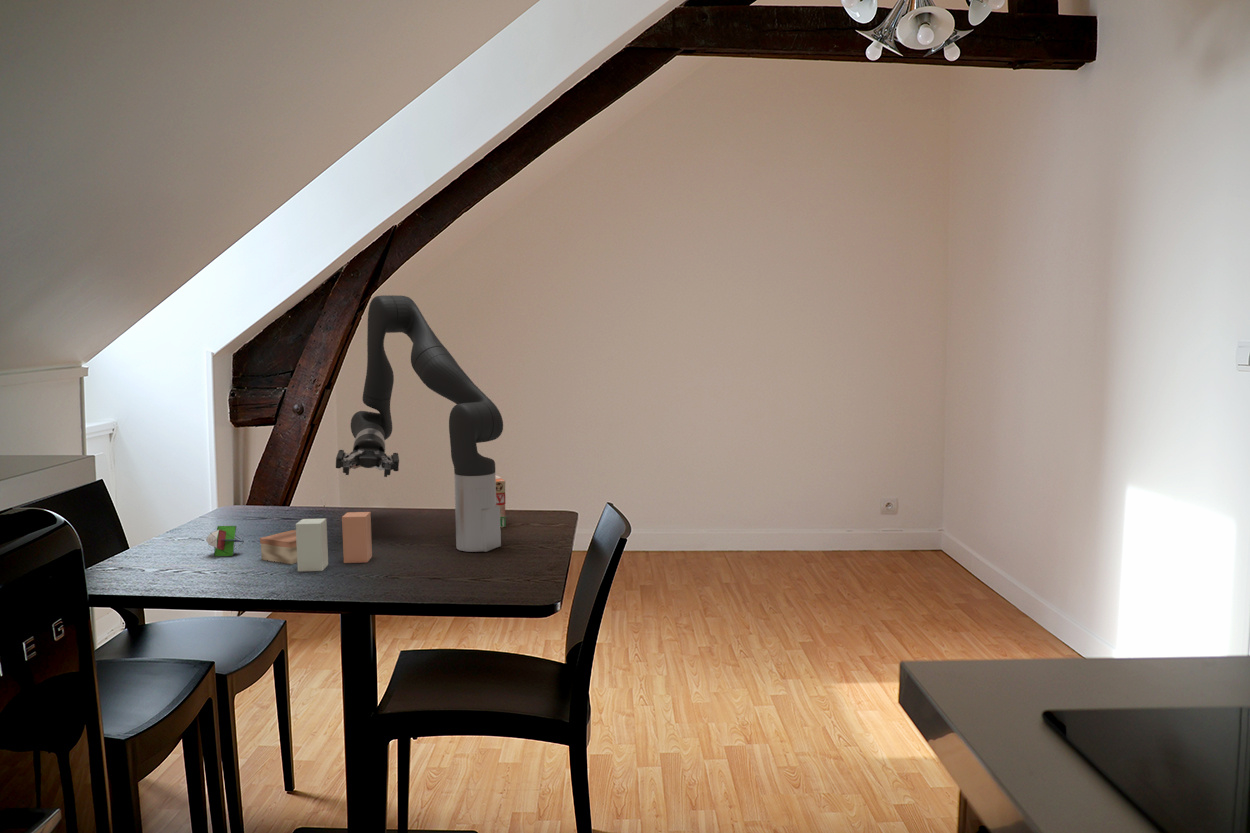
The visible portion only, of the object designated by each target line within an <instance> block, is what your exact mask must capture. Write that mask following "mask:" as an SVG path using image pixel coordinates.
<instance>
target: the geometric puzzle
mask: <svg viewBox="0 0 1250 833" xmlns="http://www.w3.org/2000/svg"><path fill="white" fill-rule="evenodd" d="M215 529H216V530H215V531H213V532H210V534H208V536H207V537H206V538H205V541H206V543H207V544H208V546H209V548H210V549H211V547H210V546H212V547H213V550H214V552H212V550H210V551H211V552H212V553H213V557H233V556H234V554H236V552H234V551H235V550H237V547H236V548H235V546H236V544H235V543H242V544H243V543H245V541H244V540H242V539H241V538H240V537H238V536H237V534H236V531H237V525H217V527H216V528H215ZM237 538H238V539H239V540H238V539H237ZM238 547H239V548H238V549H240V547H241V544H239V545H238Z"/></svg>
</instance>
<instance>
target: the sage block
mask: <svg viewBox="0 0 1250 833" xmlns="http://www.w3.org/2000/svg"><path fill="white" fill-rule="evenodd" d="M327 522H328V521H327V518H302V519H301V520H299V521H298V522H296V523H295V530H296V543H297V563H296V564H297V572H323V571H324V570H325V569H326V568H327V567H328V566H329V552H328V525H327Z"/></svg>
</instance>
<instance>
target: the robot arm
mask: <svg viewBox="0 0 1250 833" xmlns="http://www.w3.org/2000/svg"><path fill="white" fill-rule="evenodd" d="M367 311H368V312H367V336H366V337H367V339H366V341H367V342H366V345H367V347H366V348H367V355H366V356H367V363H366V374H365V381H364V386H363V392H362V402H363V404H364V405H365V406H367V407H368V408H370V409H373V410H375V411H377V412H374V411H366V410H360V411H356V412H355V413H354V414H353V415H352V417H351V420H350V430H351V433H352V436H353V437H354V441H353V448H352V451H351V452H350V453H346V452H345V449H339V450H338V451H337V454H336V458H335V468H336V469H341V468H342V473H343V474H345V476H349V475H350V470H351V469H353V470H356V469H358V468H365V469H373V468H375V469H377V470H379V471H384V472H383V477H384V478H387V477H388V476H391V471H392V470H393V471H394V472H399V466H400V457H399V453H398V452H393V453H392V454H390V455H387V453H386V440H388V439H389V438H390V437H391V435H392V432H393V421H392V415H391V400H392V399H391V398H392V393H393V387H394V379H395V378H394V371H393V367H392V366H391V363H390V361H389V358H388V356H387V354H386V351H385V337H386V335H387V334H388V333H389V334H392V333H394V334H395V333H402V334H405V335H406V336H407V337H408V338H409V339H410V341H411V342H412V347H411V352H410V365H411V367H412V369H413V371H414V372H415V373H416V375H417V377H418V378H419V379H420V380H421V381H422V383H423V384H424V385H425V386H426V387H427V388H428V389H430V390H431V391H432V392H434V393H435V394H437V395H439V396H441V397H443V398H445V399H447V400H449V401H451V402H452V403H454V404H455V405H454V406H453V407H452V408H451V411H450V413H449V418H448V432H449V441H450V442H449V443H450V456H451V457H450V458H451V462H452V465H453V468H454V470H453V472H454V506H455V507H454V509H455V512H454V514H455V539H456V540H455V544H456V549H457V550H458V551H463V552H470V553H471V552H472V553H473V552H475V553H477V552H478V553H479V552H485V553H486V552H489V551H492V550H494V549H496V548H497V549H498V548H499V547H502V542H501V541H502V540H501V539H502V537H501V536H502V535H501V529H502V528H500V506H499V505H496V474H497V473H496V462H495V460H494V459H492V458H490V457H486V456H483V455H482V454H480V453H479V451H478V446H477V444H480V443H487V442H491V441H494V440H497V439H498V438H499V437H500V436H501V435H502V434H503V431H504V420H503V417H502V413H501V411H500V410H499V408H498V407H497V405H496V404H495V403H494V402H493V401H492V399H490V398H489V397H488V396H487V395H486V394H485V393H484V392H483V391H482V390H481V389H480V388H479V387H478V386H477V385H476V384H475V383H474V382H473V381H472V379H471V378H470V377H469V376H468V375H467V373H466V372H465V371H464V370H463V369H462V368H461V366H460V365H459V363H458V362H457V361H456V359H455V358H454V356H453V355H452V354H451V353H450V351H449V350H448V348H446V346H444V344H443V342H441V341H440V339H439V338H438V337H437V335H436V333H435V332H434V331H433V330H432V328H431V327H430V324H428V322H427V321H426V319H425V317H424V315H423V314H422V312H421V310H420V308H419V307H418V305H417V304H416V303H415V301H414V300H413V299H412V298H410V297H409V296H406V295H394V294H393V295H387V294H385V295H384V294H383V295H376V296H374V297H373V298H372V299H371V301H370V302H369V307H368V310H367ZM378 412H379V413H378Z"/></svg>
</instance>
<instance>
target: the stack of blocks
mask: <svg viewBox="0 0 1250 833" xmlns="http://www.w3.org/2000/svg"><path fill="white" fill-rule="evenodd" d="M496 505H499V506H500V527H506V528H507V526H506V525H507V523H506V520H507V519H506V518H507V516H506V480H504V479H503V478H502V477H501V476H499V475H496Z"/></svg>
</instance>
